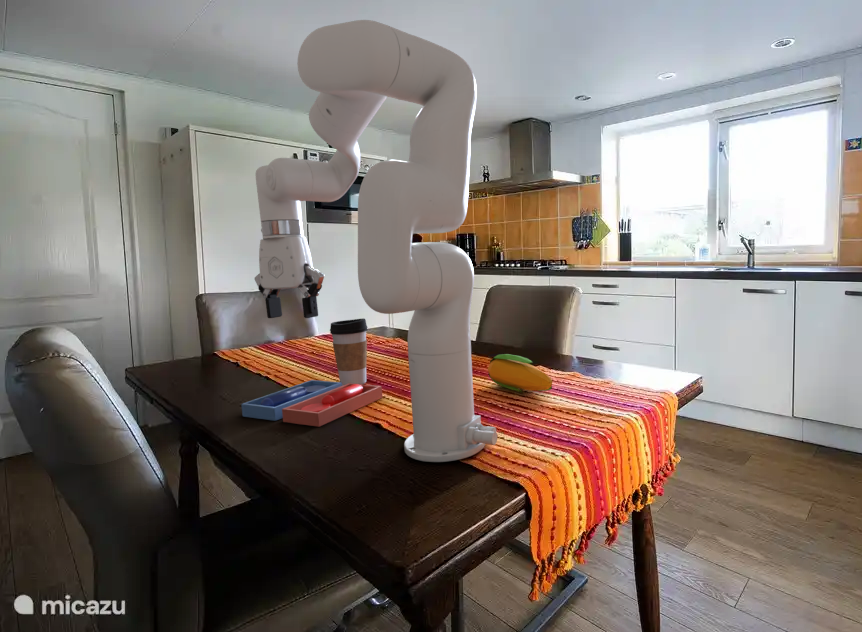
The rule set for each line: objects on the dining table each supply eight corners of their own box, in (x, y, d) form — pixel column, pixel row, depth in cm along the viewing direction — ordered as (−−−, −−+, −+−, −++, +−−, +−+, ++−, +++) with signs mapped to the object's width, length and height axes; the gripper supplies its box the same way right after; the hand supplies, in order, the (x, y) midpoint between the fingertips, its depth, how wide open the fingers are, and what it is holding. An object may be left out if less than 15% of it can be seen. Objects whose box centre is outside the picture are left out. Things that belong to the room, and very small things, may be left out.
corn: (504, 346, 117) (565, 359, 102) (507, 377, 119) (568, 395, 103) (478, 353, 113) (537, 368, 97) (481, 386, 114) (540, 405, 99)
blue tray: (343, 393, 111) (342, 382, 111) (275, 420, 95) (274, 408, 95) (312, 390, 115) (311, 379, 115) (242, 416, 98) (241, 403, 98)
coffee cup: (365, 387, 116) (360, 322, 114) (329, 388, 116) (323, 323, 114) (376, 377, 124) (371, 316, 122) (341, 378, 124) (336, 318, 122)
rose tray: (382, 397, 107) (381, 386, 107) (319, 426, 91) (317, 413, 90) (350, 394, 111) (349, 383, 110) (283, 421, 94) (281, 408, 94)
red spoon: (351, 394, 109) (350, 381, 109) (371, 396, 107) (370, 383, 107) (295, 417, 95) (294, 402, 95) (316, 420, 93) (315, 405, 93)
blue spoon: (273, 415, 97) (271, 400, 96) (253, 412, 99) (252, 398, 98) (331, 392, 111) (330, 379, 111) (313, 390, 113) (311, 378, 113)
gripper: (235, 233, 100) (245, 320, 102) (301, 227, 93) (311, 319, 95) (266, 234, 107) (276, 315, 109) (331, 228, 100) (339, 314, 102)
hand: (292, 317), depth 102 cm, fingers open, 9 cm apart
